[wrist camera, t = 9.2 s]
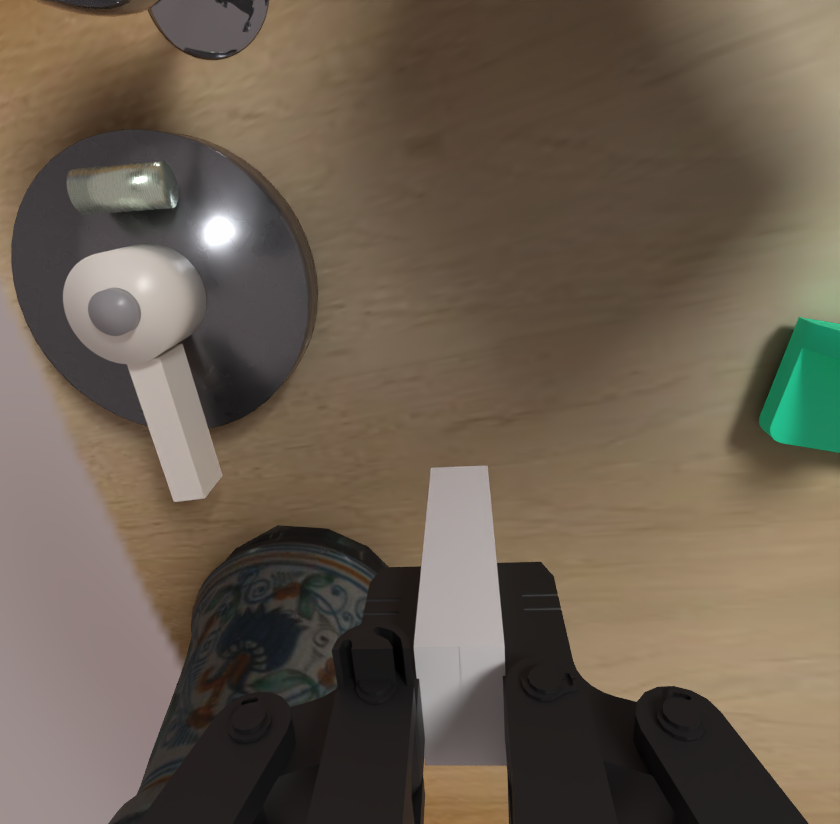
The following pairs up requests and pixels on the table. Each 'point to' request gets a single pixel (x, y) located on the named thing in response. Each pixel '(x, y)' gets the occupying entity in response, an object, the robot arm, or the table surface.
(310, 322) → the base
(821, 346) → the camera mount
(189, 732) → the beer stein
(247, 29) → the wine glass
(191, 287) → the knob
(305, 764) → the robot arm
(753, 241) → the table surface
